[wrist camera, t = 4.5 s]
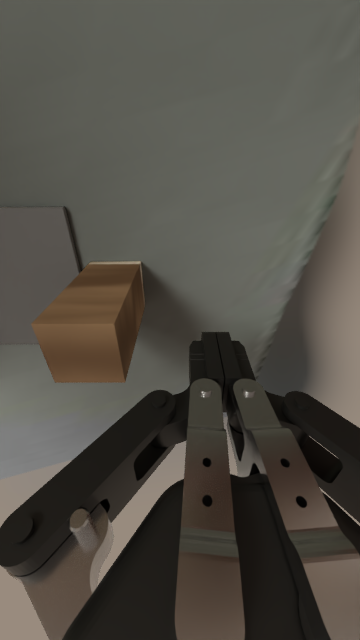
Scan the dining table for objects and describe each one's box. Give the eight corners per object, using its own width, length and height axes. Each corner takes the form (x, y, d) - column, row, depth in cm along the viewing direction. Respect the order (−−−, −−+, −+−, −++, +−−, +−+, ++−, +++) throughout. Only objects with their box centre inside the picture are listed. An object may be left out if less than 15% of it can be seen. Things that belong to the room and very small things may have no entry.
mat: (-103, 207, 17) (-109, 208, 17) (64, 206, 17) (62, 207, 17) (-25, 341, 23) (-28, 344, 23) (97, 341, 23) (96, 343, 23)
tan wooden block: (90, 261, 19) (31, 323, 11) (141, 261, 19) (113, 323, 11) (100, 305, 21) (55, 382, 14) (145, 305, 21) (124, 382, 14)
